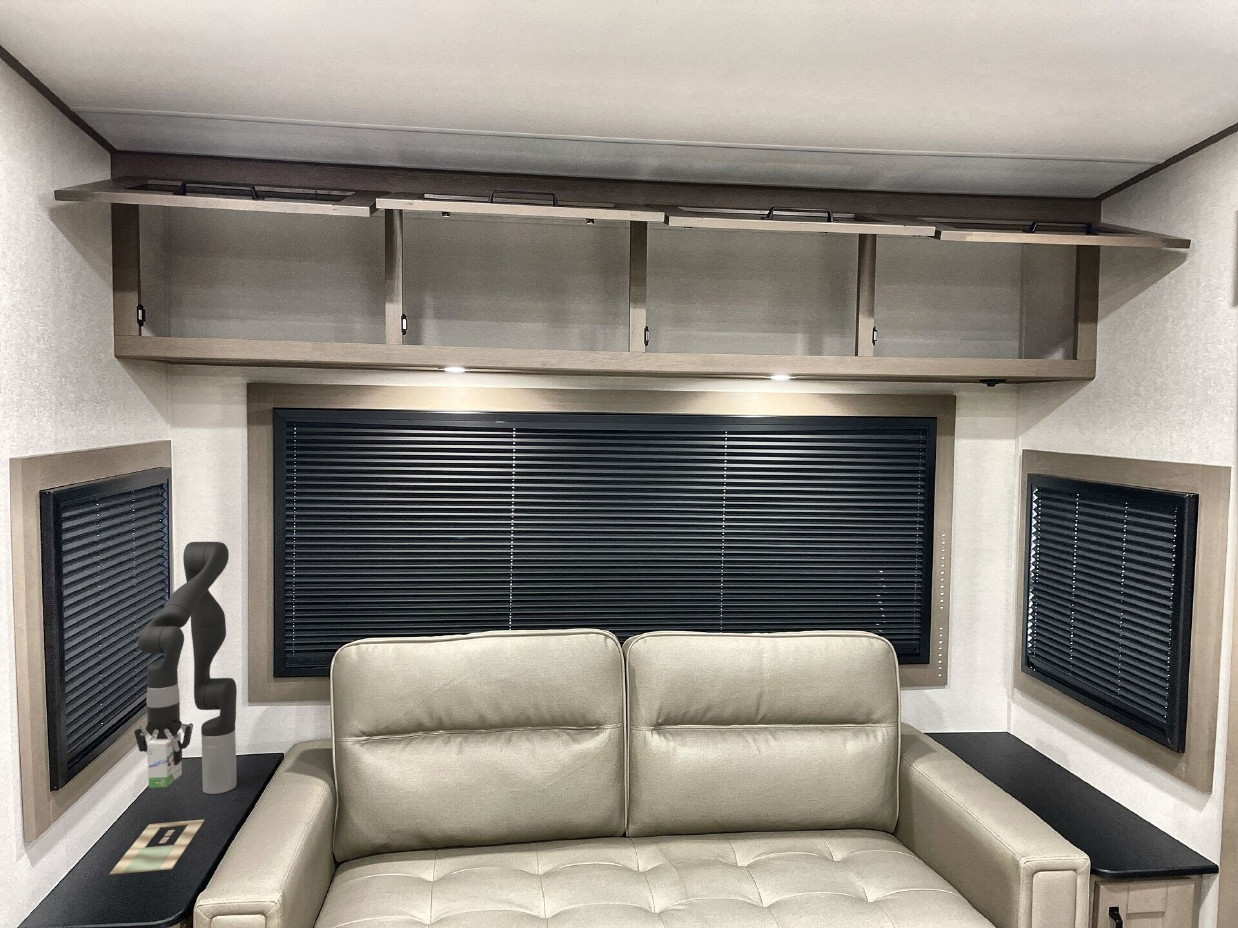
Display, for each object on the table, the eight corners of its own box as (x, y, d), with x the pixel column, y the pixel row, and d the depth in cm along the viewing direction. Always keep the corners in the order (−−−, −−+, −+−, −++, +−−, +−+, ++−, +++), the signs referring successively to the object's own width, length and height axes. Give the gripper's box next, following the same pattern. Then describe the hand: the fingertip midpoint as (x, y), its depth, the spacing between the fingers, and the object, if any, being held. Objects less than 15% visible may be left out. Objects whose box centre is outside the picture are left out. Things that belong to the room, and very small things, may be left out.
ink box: (167, 787, 217) (166, 742, 216) (147, 787, 217) (146, 743, 216) (182, 773, 225) (181, 730, 225) (163, 774, 225) (162, 731, 225)
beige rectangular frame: (149, 825, 228) (149, 823, 228) (204, 820, 231) (204, 818, 231) (109, 874, 202) (109, 872, 202) (171, 868, 205) (171, 867, 205)
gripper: (197, 695, 225) (198, 757, 226) (139, 698, 222) (141, 761, 223) (188, 704, 218) (189, 768, 218) (127, 707, 215) (129, 772, 216)
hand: (165, 764), depth 221 cm, fingers closed on ink box, 5 cm apart
